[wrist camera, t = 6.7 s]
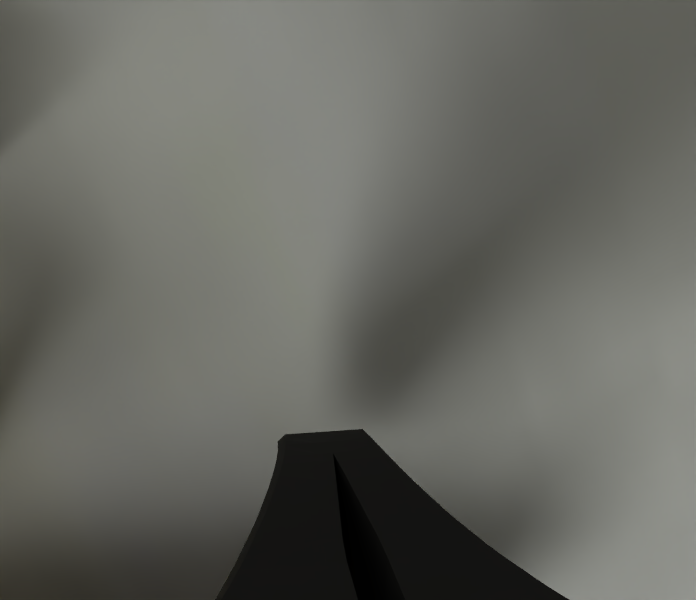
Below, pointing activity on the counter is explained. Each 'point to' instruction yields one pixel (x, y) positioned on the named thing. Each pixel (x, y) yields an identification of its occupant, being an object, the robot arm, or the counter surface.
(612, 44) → the counter surface
